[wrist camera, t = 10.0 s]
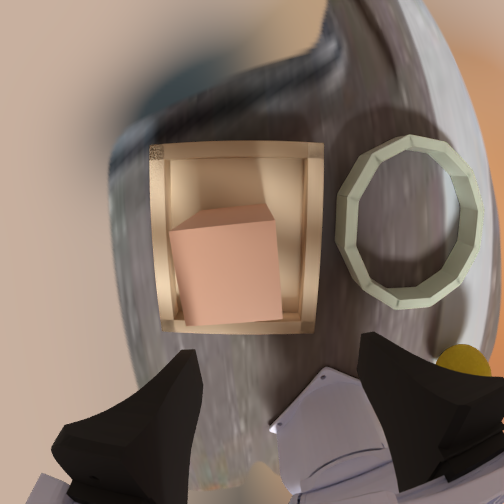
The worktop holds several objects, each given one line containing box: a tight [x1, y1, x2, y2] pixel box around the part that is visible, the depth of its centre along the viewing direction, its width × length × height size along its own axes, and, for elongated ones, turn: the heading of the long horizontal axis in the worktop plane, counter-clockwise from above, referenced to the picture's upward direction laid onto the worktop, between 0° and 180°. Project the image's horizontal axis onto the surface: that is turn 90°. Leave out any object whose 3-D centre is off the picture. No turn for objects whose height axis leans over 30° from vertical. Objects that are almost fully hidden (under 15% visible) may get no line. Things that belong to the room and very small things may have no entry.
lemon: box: [436, 344, 492, 377], centre depth 20 cm, size 6×6×8 cm
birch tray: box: [150, 141, 324, 334], centre depth 20 cm, size 13×11×2 cm
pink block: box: [169, 203, 283, 326], centre depth 16 cm, size 4×4×8 cm
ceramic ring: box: [335, 134, 484, 310], centre depth 20 cm, size 13×13×2 cm
